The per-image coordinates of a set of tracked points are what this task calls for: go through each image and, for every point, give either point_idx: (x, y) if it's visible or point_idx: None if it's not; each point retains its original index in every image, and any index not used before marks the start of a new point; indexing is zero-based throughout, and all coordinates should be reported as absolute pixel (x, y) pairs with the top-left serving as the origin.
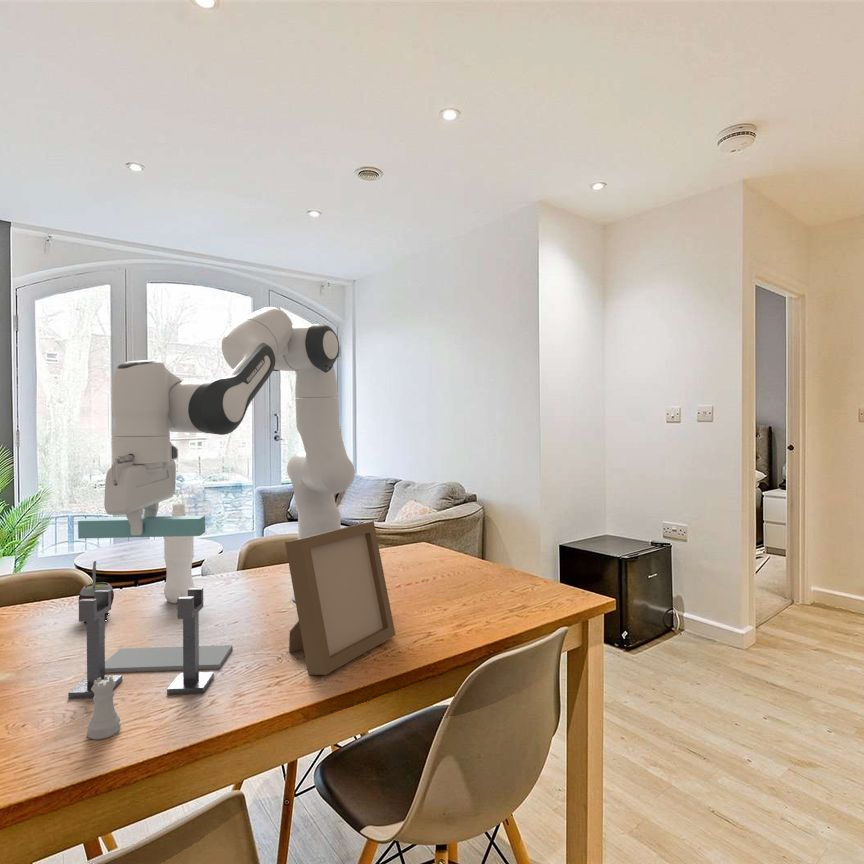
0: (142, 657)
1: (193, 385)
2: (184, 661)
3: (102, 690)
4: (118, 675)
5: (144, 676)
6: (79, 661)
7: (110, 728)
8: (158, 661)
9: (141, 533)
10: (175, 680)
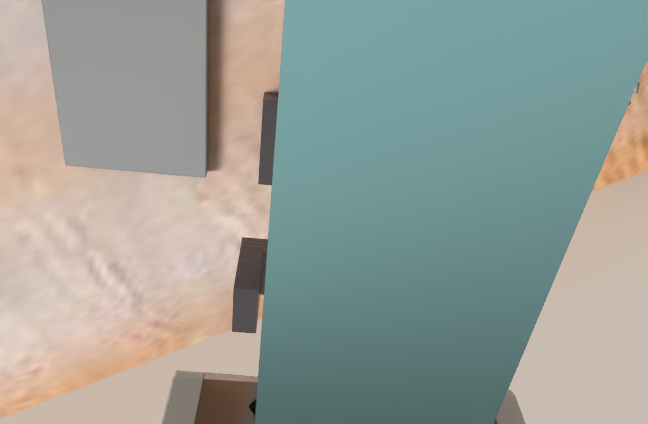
0: (132, 80)
1: None
2: None
3: None
4: (264, 108)
5: (243, 37)
6: (130, 237)
7: None
8: (166, 19)
9: (508, 392)
10: None
